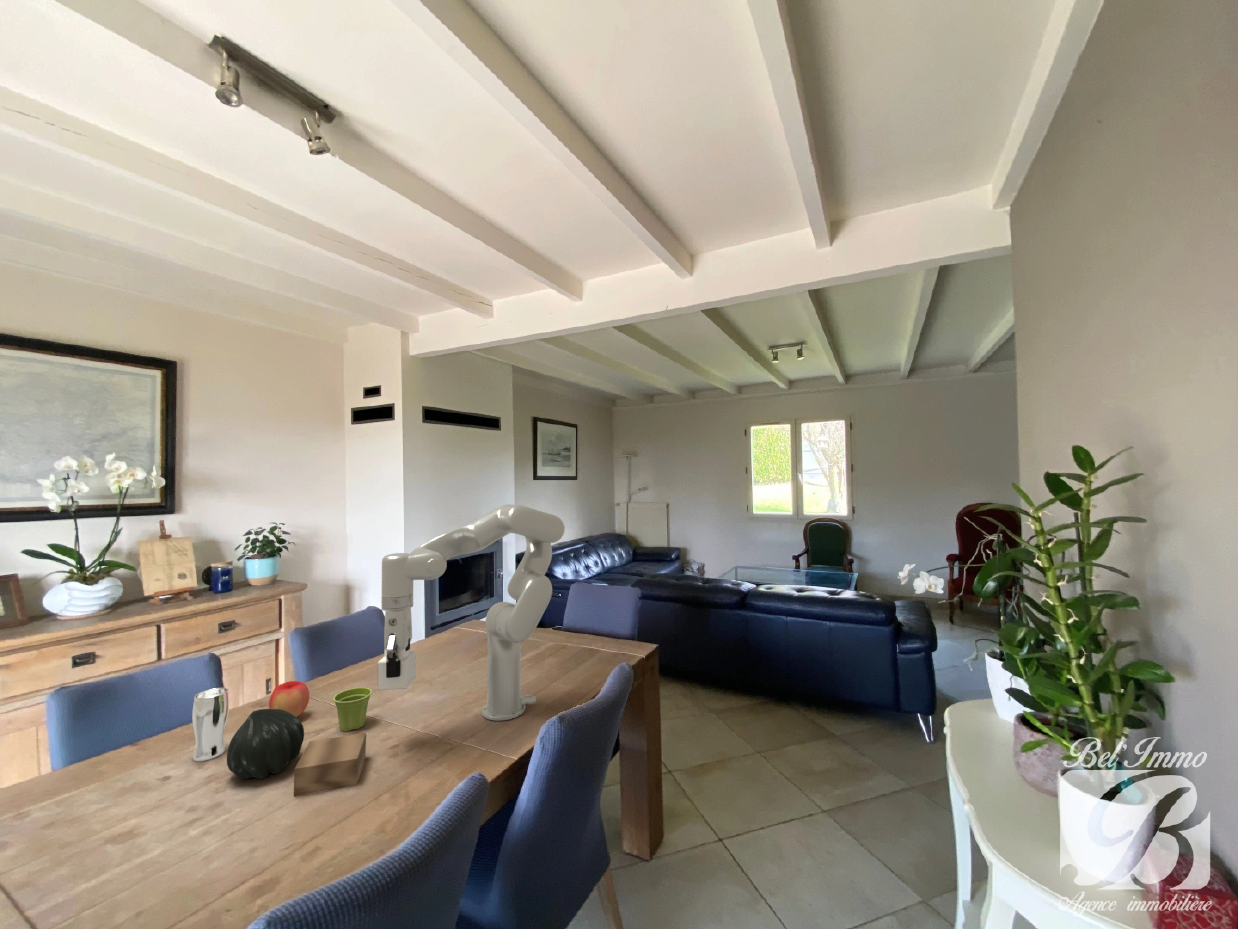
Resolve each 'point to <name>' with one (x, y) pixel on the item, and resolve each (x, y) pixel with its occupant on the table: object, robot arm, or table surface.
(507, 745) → the table surface
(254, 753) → the squash
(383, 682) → the medicine bottle
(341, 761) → the walnut block
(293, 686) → the apple
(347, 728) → the plant pot
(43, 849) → the table surface
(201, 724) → the silver metal vase
